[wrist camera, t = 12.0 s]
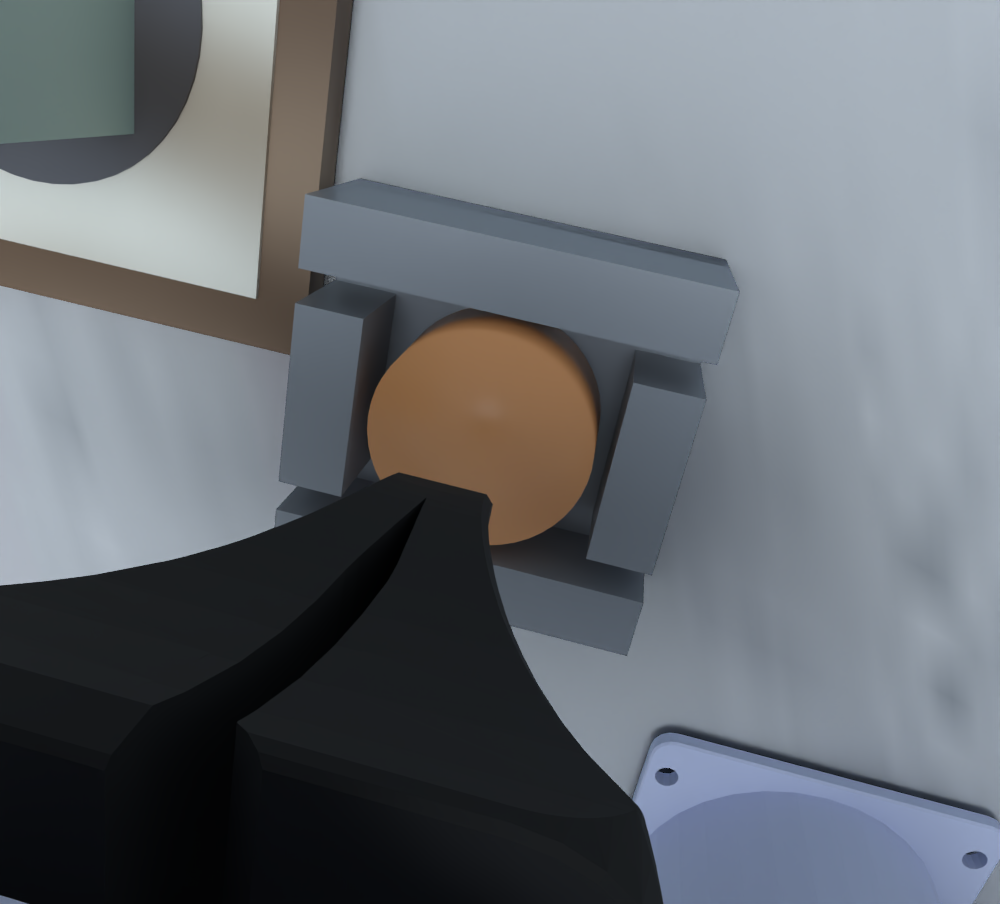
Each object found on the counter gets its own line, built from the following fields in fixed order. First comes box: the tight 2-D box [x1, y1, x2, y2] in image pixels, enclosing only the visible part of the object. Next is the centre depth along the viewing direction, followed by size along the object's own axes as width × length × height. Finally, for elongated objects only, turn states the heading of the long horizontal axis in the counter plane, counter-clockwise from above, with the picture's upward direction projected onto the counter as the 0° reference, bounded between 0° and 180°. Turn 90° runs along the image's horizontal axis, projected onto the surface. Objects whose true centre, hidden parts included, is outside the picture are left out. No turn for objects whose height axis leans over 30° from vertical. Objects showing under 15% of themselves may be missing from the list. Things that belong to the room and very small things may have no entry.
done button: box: [367, 308, 601, 545], centre depth 16 cm, size 4×4×2 cm
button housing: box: [274, 179, 740, 656], centre depth 16 cm, size 7×7×3 cm
